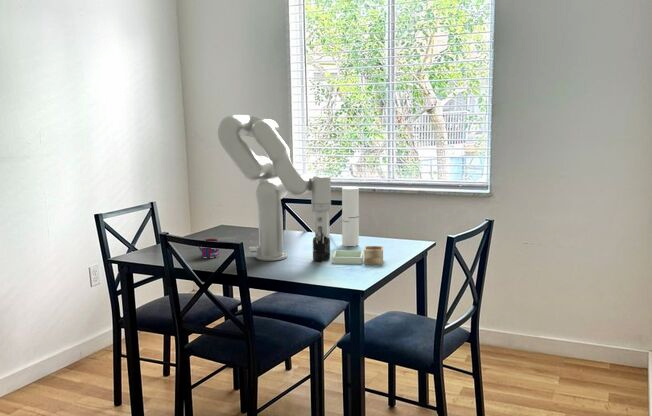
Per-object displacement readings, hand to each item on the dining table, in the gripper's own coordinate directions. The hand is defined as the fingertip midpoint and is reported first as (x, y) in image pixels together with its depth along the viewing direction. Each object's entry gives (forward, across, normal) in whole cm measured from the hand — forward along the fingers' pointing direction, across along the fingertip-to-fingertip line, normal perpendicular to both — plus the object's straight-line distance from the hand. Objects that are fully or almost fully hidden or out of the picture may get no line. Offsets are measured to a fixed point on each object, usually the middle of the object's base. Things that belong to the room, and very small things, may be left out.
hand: (321, 250), depth 239 cm
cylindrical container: (+4, +28, -9) cm, 30 cm away
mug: (+4, +3, +47) cm, 47 cm away
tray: (+4, -1, -10) cm, 11 cm away
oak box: (+4, -3, -20) cm, 21 cm away
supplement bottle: (+4, 0, 0) cm, 4 cm away
